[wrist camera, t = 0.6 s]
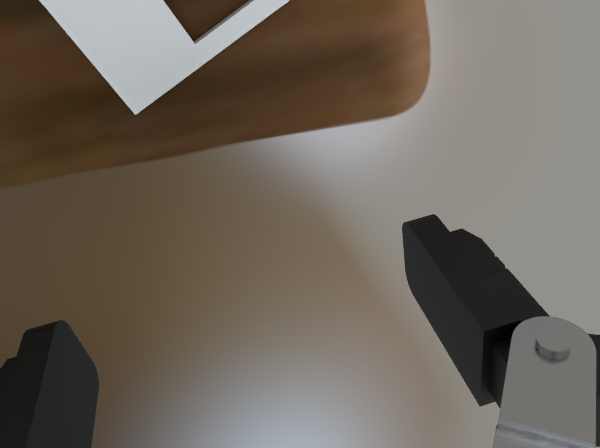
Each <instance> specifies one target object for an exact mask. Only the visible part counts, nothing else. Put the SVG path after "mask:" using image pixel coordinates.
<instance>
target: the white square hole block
mask: <svg viewBox="0 0 600 448" xmlns="http://www.w3.org/2000/svg"><path fill="white" fill-rule="evenodd" d="M39 1H40V2H41V3H42V4H43V5H44V7H45V8H46V9H47V10H48V11H49V13H50V14H51V15H52V16H53V17H54V18H55V20H56V21H57V22H58V23H59V24H60V26H61V27H62V28H63V29H64V30H65V32H66V33H67V34H68V35H69V36H70V38H71V39H72V40H73V41H74V42H75V44H76V45H77V46H78V47H79V48H80V49H81V51H82V52H83V53H84V54H85V55H86V57H87V58H88V59H89V60H90V61H91V63H92V64H93V65H94V66H95V67H96V69H97V70H98V71H99V72H100V73H101V75H102V76H103V77H104V78H105V79H106V81H107V82H108V83H109V84H110V85H111V86H112V88H113V89H114V90H115V91H116V92H117V94H118V95H119V96H120V97H121V98H122V100H123V101H124V102H125V103H126V104H127V106H128V107H129V108H130V109H131V110H132V112H133V113H134V114H135V115H136V114H138V113H139V112H140V111H142V110H143V109H144V108H146V107H147V106H148V105H150V104H151V103H152V102H154V101H155V100H156V99H158V98H159V97H160V96H162V95H163V94H164V93H166V92H167V91H168V90H170V89H171V88H173V87H174V86H175V85H177V84H178V83H179V82H181V81H182V80H183V79H185V78H186V77H187V76H189V75H190V74H191V73H193V72H194V71H195V70H197V69H198V68H199V67H201V66H202V65H203V64H205V63H206V62H207V61H209V60H210V59H211V58H213V57H214V56H216V55H217V54H218V53H220V52H221V51H222V50H224V49H225V48H226V47H228V46H229V45H230V44H232V43H233V42H234V41H236V40H237V39H238V38H240V37H241V36H242V35H244V34H245V33H246V32H248V31H249V30H250V29H252V28H253V27H255V26H256V25H257V24H259V23H260V22H261V21H263V20H264V19H265V18H267V17H268V16H269V15H271V14H272V13H273V12H275V11H276V10H277V9H279V8H280V7H281V6H283V5H284V4H285V3H287V2H288V1H289V0H249V1H248V2H246V3H245V4H244V5H242V6H241V7H240V8H238V9H237V10H236V11H234V12H233V13H232V14H230V15H229V16H228V17H226V18H225V19H224V20H222V21H221V22H220V23H218V24H217V25H215V26H214V27H213V28H211V29H210V30H209V31H207V32H206V33H205V34H203V35H202V36H201V37H199V38H198V39H197V40H195V41H194V42H193V41H192V39H191V38H190V36H189V35H188V34H187V32H186V31H185V30H184V28H183V27H182V25H181V24H180V23H179V21H178V20H177V18H176V17H175V16H174V14H173V13H172V12H171V10H170V9H169V7H168V6H167V5H166V3H165V2H164V0H39Z"/></svg>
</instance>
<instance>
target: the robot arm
mask: <svg viewBox="0 0 600 448" xmlns="http://www.w3.org/2000/svg"><path fill="white" fill-rule="evenodd" d="M402 234H403V247H404V259H405V271H406V277H407V280H408V284H409V287H410V289H411V291H412V294H413V296H414V297H415V299H416V301H417V302H418V304H419V306H420V307H421V309H422V311H423V312H424V314H425V316H426V317H427V319H428V321H429V322H430V324H431V326H432V327H433V329H434V331H435V332H436V334H437V336H438V337H439V339H440V341H441V342H442V344H443V346H444V347H445V349H446V351H447V352H448V354H449V356H450V357H451V359H452V361H453V362H454V364H455V366H456V367H457V369H458V371H459V372H460V374H461V376H462V378H463V379H464V381H465V383H466V384H467V386H468V388H469V389H470V391H471V393H472V394H473V396H474V398H475V399H476V401H477V403H478V404H479V406H483V405H486V404H489V403H492V402H496V403H497V405H498V406H499V408H500V414H499V420H498V425H497V426H496V431H495V436H494V442H493V448H596V446H598V447H599V446H600V335H593V334H587V333H586V332H585V331H583V329H581V328H580V327H578V326H577V325H575V324H573V323H571V322H569V321H566V320H563V319H560V318H556V317H550V316H549V315H548V314H547V313H546V312H545V311H544V309H543V308H542V307H541V306H540V305H539V304H538V303H537V301H536V300H535V299H534V298H533V297H532V296H531V295H530V294H529V292H528V291H527V290H526V289H525V288H524V287H523V286H522V285H521V283H520V282H519V281H518V280H517V279H516V278H515V277H514V275H513V274H512V273H511V272H510V271H509V270H508V269H506V268H505V265H504V264H503V263H502V262H501V261H500V260H499V258H498V257H495V255H494V253H493V252H492V250H491V249H490V248H489V247H488V246H487V245H486V244H485V242H484V241H483V240H482V239H481V238H479V237H477V236H475V235H473V234H471V233H469V232H467V231H465V230H464V229H459V230H456V231H452V232H449V230H448V229H447V228H446V227H445V225H444V224H443V223H442V222H441V220H440V219H439V218H438V217H437V216H436V215H434V214H432V215H429V216H425V217H422V218H418V219H415V220H412V221H408V222H404V223H403V226H402ZM98 390H99V379H98V374H97V370H96V367H95V365H94V362H93V361H92V359H91V358H90V357H89V355H88V353H87V352H86V350H85V349H84V347H83V346H82V344H81V343H80V341H79V340H78V338H77V337H76V335H75V334H74V332H73V331H72V329H71V328H70V326H69V325H68V324H67V323H66V322H65V321H63V320H59V321H56V322H52V323H49V324H45V325H42V326H38V327H35V328H31V329H28V330H26V331H25V333H24V335H23V337H22V340H21V344H20V347H19V350H18V353H17V356H16V357H14V358H10V359H7V361H6V362H5V363H4V365H3V366H2V367H1V369H0V448H91V444H92V436H93V429H94V421H95V414H96V406H97V398H98Z"/></svg>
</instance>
